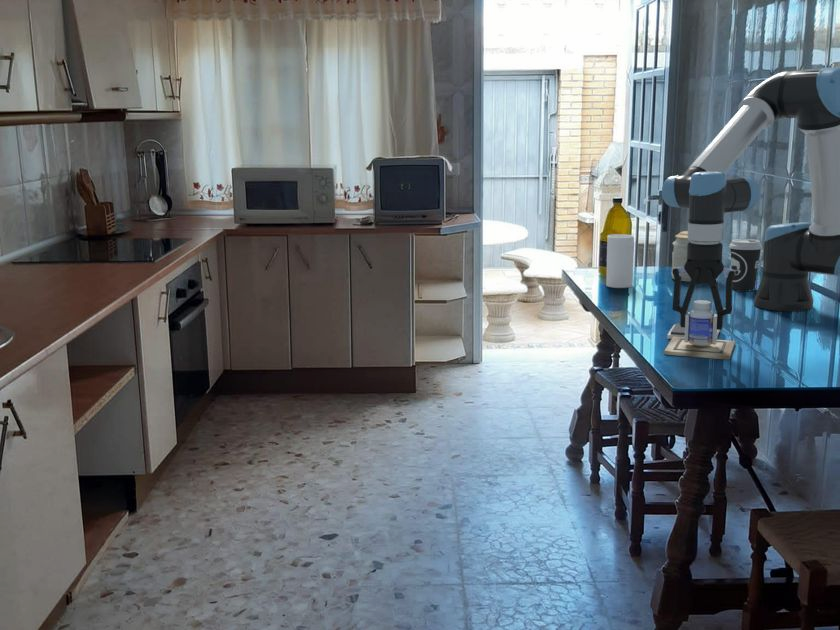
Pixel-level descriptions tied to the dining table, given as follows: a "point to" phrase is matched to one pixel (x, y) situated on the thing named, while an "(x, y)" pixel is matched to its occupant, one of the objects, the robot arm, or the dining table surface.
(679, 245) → the jar
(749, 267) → the coffee cup
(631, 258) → the cup
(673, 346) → the marked board
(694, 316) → the pill bottle
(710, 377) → the dining table surface
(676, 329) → the ink pad
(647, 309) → the dining table surface
